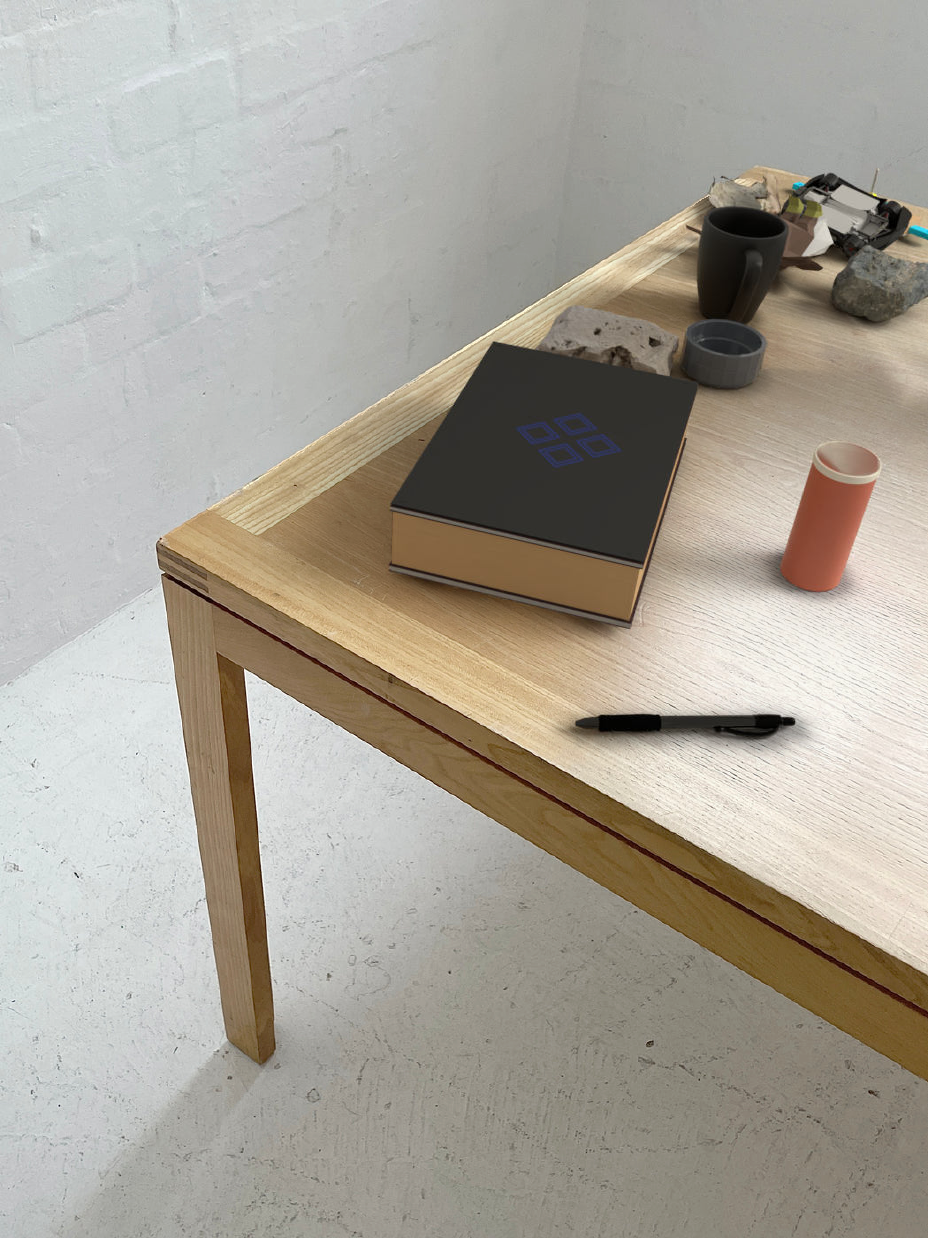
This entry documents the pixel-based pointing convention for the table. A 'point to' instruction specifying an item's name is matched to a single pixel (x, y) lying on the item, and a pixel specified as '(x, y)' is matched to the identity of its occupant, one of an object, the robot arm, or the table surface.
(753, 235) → the mug
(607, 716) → the pen
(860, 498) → the canister
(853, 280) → the rock
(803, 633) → the table surface
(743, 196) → the stone fragment
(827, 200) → the toy car
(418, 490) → the book
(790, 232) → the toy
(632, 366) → the stone
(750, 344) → the bowl
